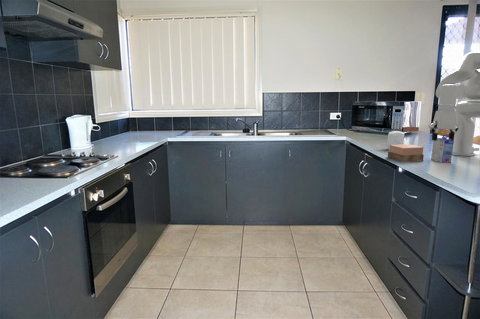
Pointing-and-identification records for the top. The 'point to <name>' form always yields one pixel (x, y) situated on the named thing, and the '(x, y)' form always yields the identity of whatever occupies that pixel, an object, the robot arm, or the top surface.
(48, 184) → the top surface
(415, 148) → the tower top
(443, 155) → the ink cartridge box
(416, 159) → the tower base
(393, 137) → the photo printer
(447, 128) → the robot arm
